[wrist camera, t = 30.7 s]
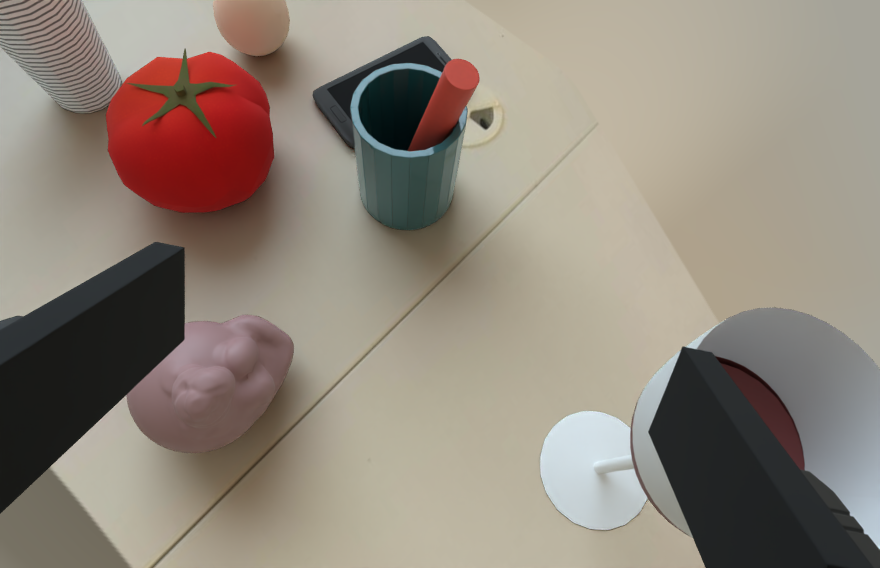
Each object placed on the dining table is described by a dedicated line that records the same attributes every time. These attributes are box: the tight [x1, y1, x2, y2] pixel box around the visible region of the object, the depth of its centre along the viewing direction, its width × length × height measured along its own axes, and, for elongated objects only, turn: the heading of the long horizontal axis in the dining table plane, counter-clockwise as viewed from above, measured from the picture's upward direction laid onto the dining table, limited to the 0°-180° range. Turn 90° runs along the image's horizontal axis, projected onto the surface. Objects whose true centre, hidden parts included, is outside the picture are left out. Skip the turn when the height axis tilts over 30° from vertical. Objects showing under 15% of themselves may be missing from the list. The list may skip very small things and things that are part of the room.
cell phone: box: [313, 36, 451, 148], centre depth 54 cm, size 7×14×1 cm, turn 126°
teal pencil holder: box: [350, 63, 468, 230], centre depth 45 cm, size 8×8×11 cm
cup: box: [0, 0, 122, 113], centre depth 45 cm, size 8×8×16 cm
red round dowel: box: [407, 59, 479, 151], centre depth 43 cm, size 2×2×15 cm
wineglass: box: [540, 308, 880, 549], centre depth 32 cm, size 9×10×23 cm
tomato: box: [106, 50, 274, 213], centre depth 45 cm, size 13×12×11 cm
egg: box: [213, 0, 290, 56], centre depth 51 cm, size 7×7×8 cm
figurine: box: [127, 315, 294, 453], centre depth 37 cm, size 9×11×12 cm
